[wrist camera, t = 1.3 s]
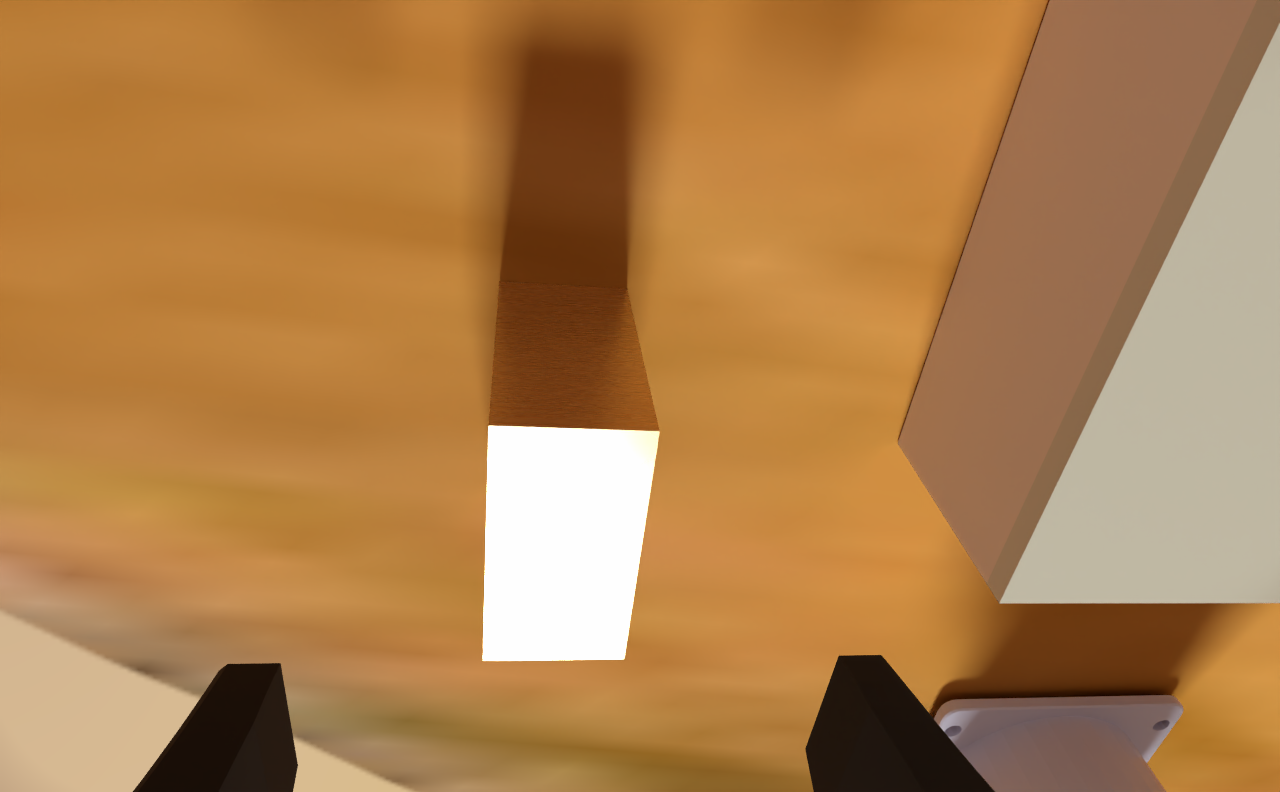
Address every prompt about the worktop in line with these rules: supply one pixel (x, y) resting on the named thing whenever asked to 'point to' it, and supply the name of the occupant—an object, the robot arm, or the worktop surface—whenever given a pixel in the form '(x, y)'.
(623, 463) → the wooden block
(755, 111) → the worktop surface
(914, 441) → the box
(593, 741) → the worktop surface
